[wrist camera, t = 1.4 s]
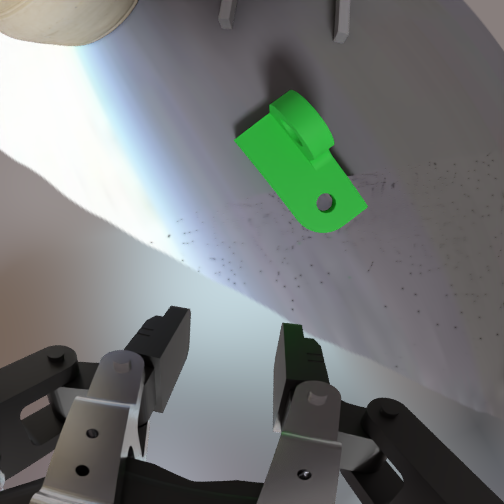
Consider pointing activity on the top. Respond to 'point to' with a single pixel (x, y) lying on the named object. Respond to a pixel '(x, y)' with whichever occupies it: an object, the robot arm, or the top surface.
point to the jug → (62, 20)
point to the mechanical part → (301, 163)
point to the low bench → (339, 29)
